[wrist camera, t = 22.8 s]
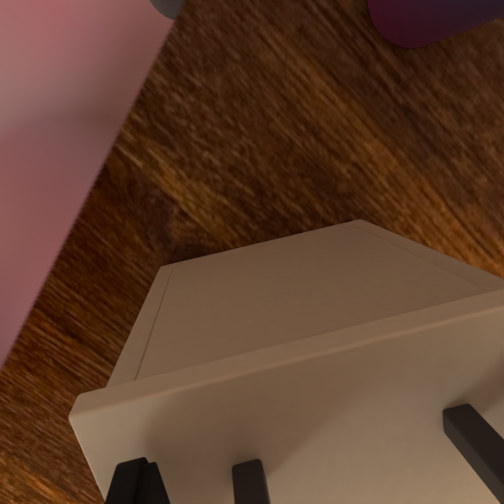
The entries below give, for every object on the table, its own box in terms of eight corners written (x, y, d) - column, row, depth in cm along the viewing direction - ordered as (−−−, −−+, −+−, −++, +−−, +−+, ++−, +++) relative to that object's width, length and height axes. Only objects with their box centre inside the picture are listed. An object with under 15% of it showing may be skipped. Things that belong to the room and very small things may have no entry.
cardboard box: (159, 266, 22) (100, 396, 10) (361, 218, 22) (530, 288, 11) (217, 465, 25) (224, 738, 13) (391, 419, 26) (544, 643, 14)
